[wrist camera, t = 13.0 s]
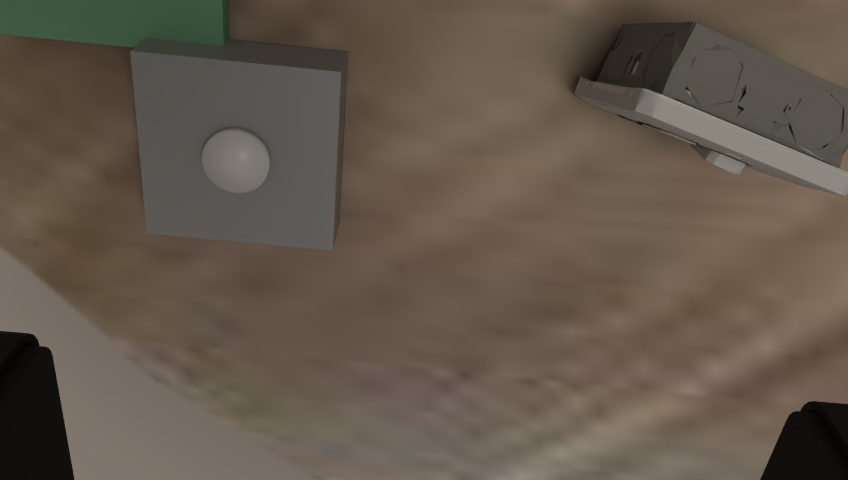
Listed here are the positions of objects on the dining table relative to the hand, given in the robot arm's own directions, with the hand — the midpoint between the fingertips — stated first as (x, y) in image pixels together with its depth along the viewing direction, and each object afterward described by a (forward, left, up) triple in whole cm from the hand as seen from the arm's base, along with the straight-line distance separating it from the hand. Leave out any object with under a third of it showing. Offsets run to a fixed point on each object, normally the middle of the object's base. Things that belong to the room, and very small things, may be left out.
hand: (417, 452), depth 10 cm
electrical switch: (+3, +12, -29) cm, 31 cm away
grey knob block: (+8, -8, -28) cm, 30 cm away
